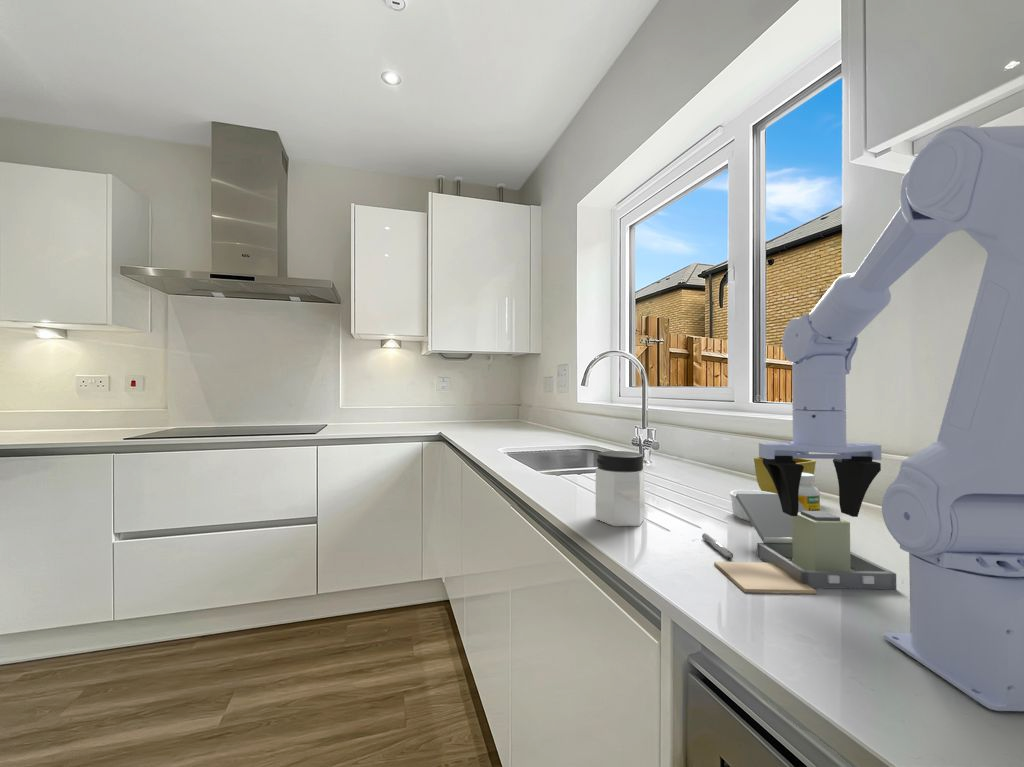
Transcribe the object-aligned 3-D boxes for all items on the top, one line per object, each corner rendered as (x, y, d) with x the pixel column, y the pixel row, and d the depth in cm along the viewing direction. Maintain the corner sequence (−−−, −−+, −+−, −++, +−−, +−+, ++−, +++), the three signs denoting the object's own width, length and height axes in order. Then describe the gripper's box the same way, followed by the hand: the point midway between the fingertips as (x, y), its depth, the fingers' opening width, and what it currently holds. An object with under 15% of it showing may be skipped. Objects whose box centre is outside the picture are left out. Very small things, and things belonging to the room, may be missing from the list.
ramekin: (726, 519, 79) (726, 495, 79) (734, 508, 86) (733, 487, 86) (783, 528, 74) (782, 502, 74) (786, 516, 81) (785, 493, 81)
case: (898, 590, 50) (898, 574, 50) (805, 588, 50) (804, 573, 51) (834, 556, 61) (834, 543, 61) (757, 555, 61) (757, 542, 61)
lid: (830, 557, 60) (829, 507, 60) (765, 556, 60) (764, 506, 61) (792, 537, 69) (792, 493, 69) (735, 536, 69) (735, 493, 69)
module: (850, 578, 53) (849, 519, 54) (814, 578, 54) (814, 518, 54) (825, 564, 58) (825, 509, 58) (792, 564, 58) (792, 509, 58)
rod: (733, 559, 59) (733, 552, 59) (726, 559, 59) (726, 552, 59) (708, 539, 67) (708, 533, 67) (702, 539, 67) (701, 533, 67)
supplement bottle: (790, 524, 76) (790, 469, 76) (826, 532, 71) (825, 474, 71) (775, 529, 73) (775, 472, 73) (811, 538, 68) (810, 478, 68)
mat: (815, 593, 49) (815, 590, 49) (745, 592, 50) (745, 589, 50) (774, 565, 57) (774, 562, 57) (714, 564, 57) (714, 561, 57)
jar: (604, 511, 84) (604, 449, 84) (647, 516, 80) (647, 452, 80) (590, 523, 76) (590, 455, 76) (637, 530, 72) (637, 458, 72)
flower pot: (817, 502, 91) (817, 460, 91) (795, 507, 87) (795, 463, 87) (775, 493, 99) (774, 454, 99) (752, 498, 94) (752, 457, 94)
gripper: (851, 409, 60) (852, 506, 60) (746, 408, 60) (747, 505, 60) (895, 411, 53) (896, 522, 53) (776, 411, 53) (776, 520, 53)
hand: (819, 514), depth 56 cm, fingers open, 7 cm apart
